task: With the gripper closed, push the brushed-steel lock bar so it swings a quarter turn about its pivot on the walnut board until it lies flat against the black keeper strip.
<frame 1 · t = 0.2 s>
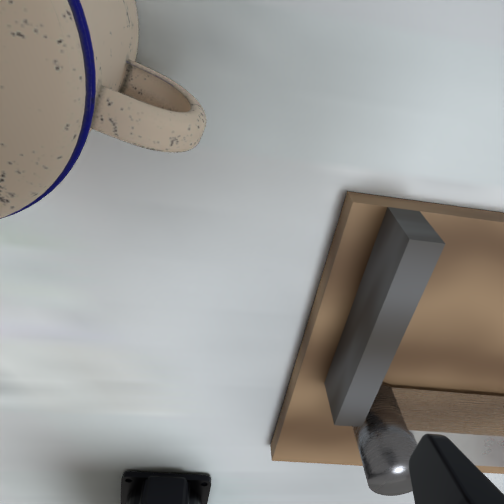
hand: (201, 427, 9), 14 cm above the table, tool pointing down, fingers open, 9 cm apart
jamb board: (470, 357, 29), on the table
lock bar: (467, 442, 27), point 4 cm above the table, hinge at -90.0°
teacup with lid: (66, 31, 18), on the table
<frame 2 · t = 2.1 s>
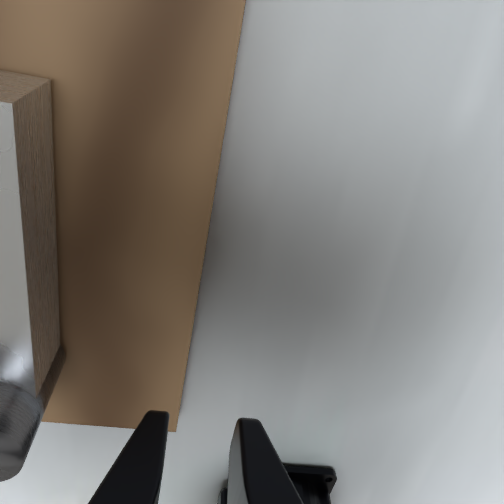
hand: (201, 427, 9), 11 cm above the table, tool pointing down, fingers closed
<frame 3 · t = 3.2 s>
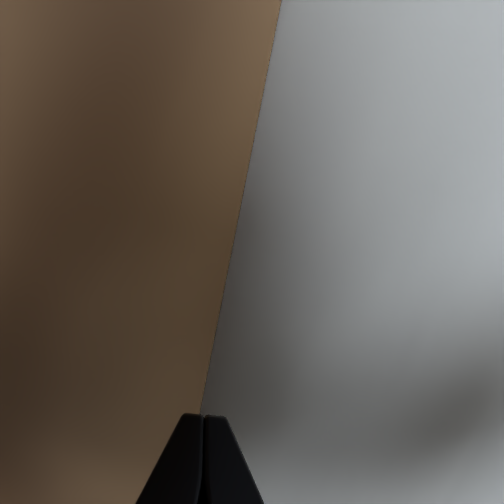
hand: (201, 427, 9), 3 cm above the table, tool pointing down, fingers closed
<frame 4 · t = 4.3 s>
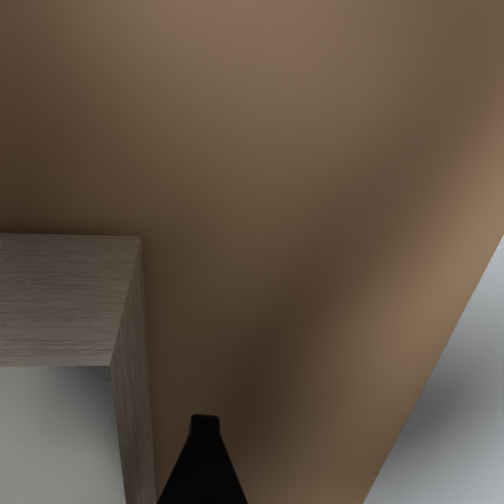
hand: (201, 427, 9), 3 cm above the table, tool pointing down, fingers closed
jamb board: (6, 399, 12), on the table
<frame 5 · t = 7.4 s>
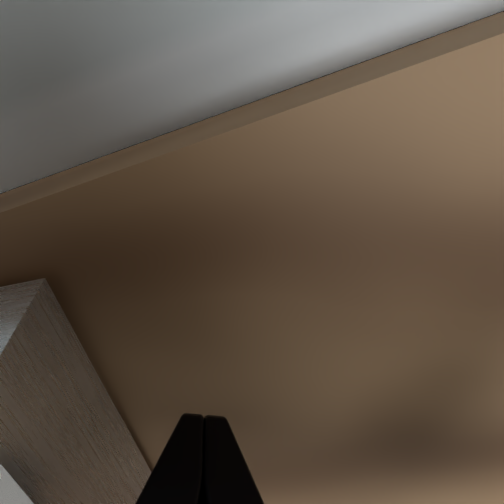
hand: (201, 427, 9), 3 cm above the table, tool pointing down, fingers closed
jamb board: (317, 443, 13), on the table
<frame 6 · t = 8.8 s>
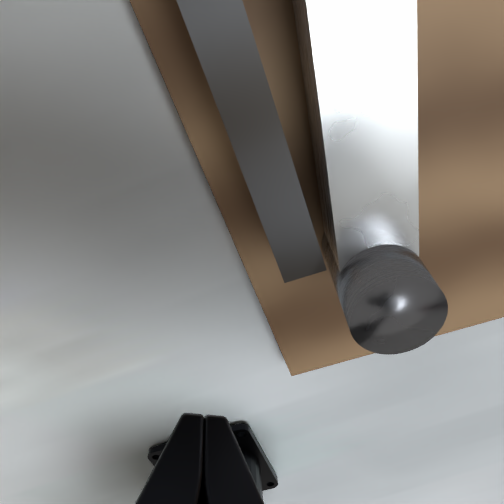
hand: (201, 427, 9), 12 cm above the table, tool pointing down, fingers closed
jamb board: (483, 113, 18), on the table
lock bar: (367, 140, 14), point 4 cm above the table, hinge at -7.5°
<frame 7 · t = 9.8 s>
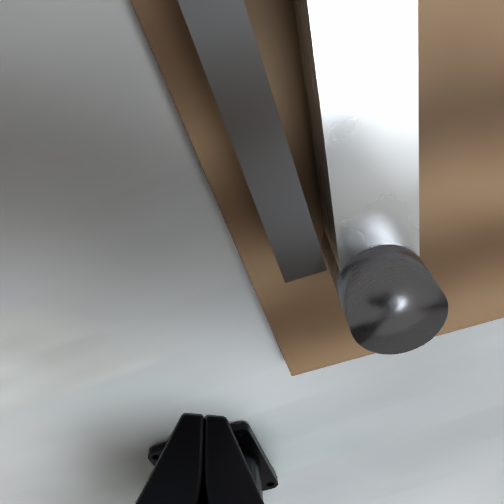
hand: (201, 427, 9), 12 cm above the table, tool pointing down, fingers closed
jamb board: (483, 113, 18), on the table
lock bar: (367, 140, 14), point 4 cm above the table, hinge at -7.5°
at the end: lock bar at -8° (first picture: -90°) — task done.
